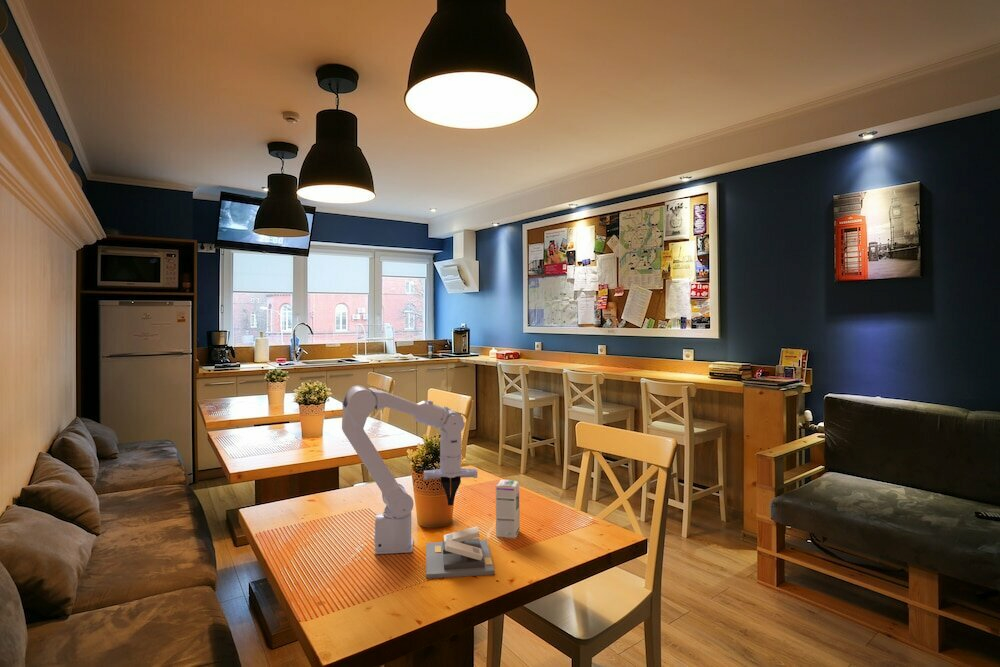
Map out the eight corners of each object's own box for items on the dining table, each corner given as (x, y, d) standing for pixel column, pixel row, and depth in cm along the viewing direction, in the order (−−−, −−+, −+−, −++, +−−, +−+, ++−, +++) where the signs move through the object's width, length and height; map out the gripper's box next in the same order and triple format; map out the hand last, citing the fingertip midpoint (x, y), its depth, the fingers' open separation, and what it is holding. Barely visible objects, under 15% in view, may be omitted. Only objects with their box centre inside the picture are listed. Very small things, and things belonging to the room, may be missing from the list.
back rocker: (445, 546, 133) (444, 541, 132) (444, 539, 136) (443, 534, 136) (479, 536, 134) (478, 531, 134) (478, 530, 138) (477, 525, 138)
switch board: (426, 578, 122) (426, 564, 121) (426, 546, 138) (426, 534, 138) (494, 574, 124) (494, 561, 124) (486, 543, 141) (486, 531, 140)
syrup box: (516, 539, 144) (516, 486, 143) (495, 537, 145) (495, 484, 144) (519, 530, 149) (520, 480, 149) (499, 528, 150) (499, 478, 150)
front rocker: (445, 550, 125) (447, 545, 125) (444, 543, 128) (446, 538, 128) (481, 560, 126) (482, 555, 126) (479, 553, 130) (481, 548, 130)
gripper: (423, 459, 138) (423, 510, 138) (478, 457, 140) (478, 508, 140) (423, 452, 145) (423, 501, 145) (476, 451, 147) (475, 499, 147)
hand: (450, 504), depth 143 cm, fingers closed
